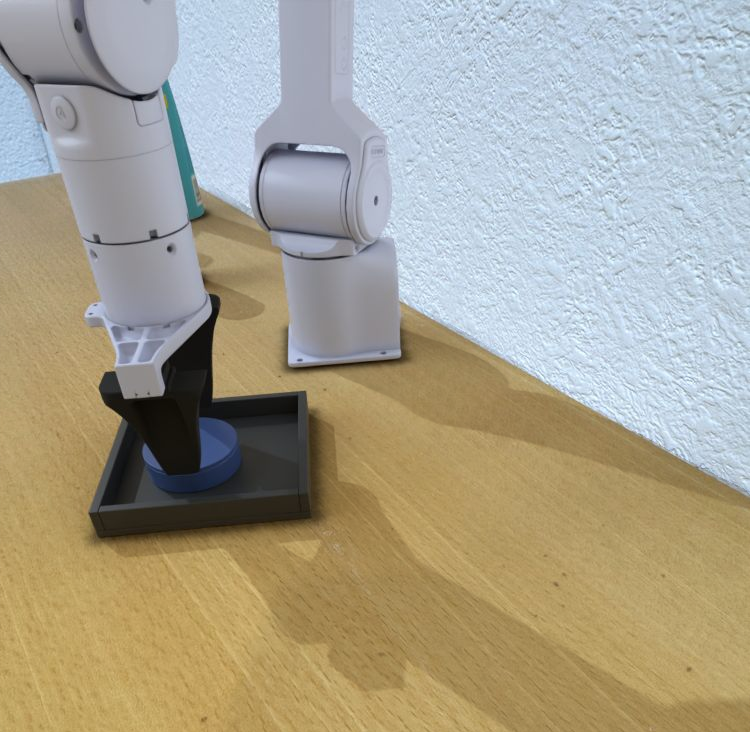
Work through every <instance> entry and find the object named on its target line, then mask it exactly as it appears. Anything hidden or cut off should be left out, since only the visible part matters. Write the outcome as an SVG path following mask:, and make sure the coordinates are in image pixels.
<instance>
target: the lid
mask: <svg viewBox="0 0 750 732" xmlns="http://www.w3.org/2000/svg"><path fill="white" fill-rule="evenodd" d="M199 429H200V439H201V465H200V471H199V472H198V473H194V474H183V475H172V476H168V475H166V473H165V472H164V471H163V469H162V468H161V467H160V465H159V464H158V462H157V461H156V459H155V457H154V456H153V454H152V453H151V451H150V450H149V448H148V447H147V445H146V444H144V446H143V450H142V452H143V458H144V461H145V464H146V467H147V470H148V473H149V476H150V479H151V480H152V482H153V483H154V484H155V485H156V486H158V487H159V488H161V489H164V490H166V491H170V492H176V493H191V492H198V491H203V490H206V489H210V488H212V487H215V486H217V485H219V484H221V483H223V482H225V481H226V480H227V479H229V478H230V477H231V476H232V475H233V474H234V473H235V472H236V471H237V469H238V468H239V466H240V463H241V452H240V447H239V443H238V438H237V433H236V431H235V429H234V428H233V427H232V426H231V425H230V424H228V423H226V422H224V421H222V420H218V419H214V418H199Z"/></svg>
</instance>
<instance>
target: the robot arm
mask: <svg viewBox="0 0 750 732" xmlns="http://www.w3.org/2000/svg"><path fill="white" fill-rule="evenodd" d="M176 1H177V0H0V65H1V67H2V68H3V69H4V70H5V72H6V73H7V74H8V75H9V76H10V77H11V78H12V79H13V80H14V81H15V82H16V83H17V84H19V86H20V87H21V89H22V90H23V91H24V93H25V94H26V96H27V99H28V101H29V103H30V105H31V109H32V112H33V115H34V118H35V121H36V123H37V124H41V125H42V128H43V130H44V131H45V132H46V133H48V135H49V136H48V137H49V139H50V142H51V146H52V148H53V151H54V155H55V158H56V161H57V164H58V167H59V171H60V174H61V177H62V181H63V183H64V186H65V190H66V192H67V193H66V194H67V195H68V199H69V203H70V207H71V209H72V212H73V215H74V218H75V222H76V224H77V225H76V226H77V228H78V231H79V235H80V236H81V237H80V238H81V240H82V243H83V246H84V249H85V253H86V256H87V257H86V258H87V259H88V263H89V266H90V269H91V273H92V276H93V278H94V282H95V285H96V288H97V291H98V295H99V298H100V301H97V302H93V303H91V304H90V305H89V306H88V307H87V309H86V311H85V313H84V316H83V317H84V319H85V323H86V326H87V327H89V328H105V330H107V334H108V336H109V339H110V342H111V344H112V347H113V349H114V352H115V355H116V357H115V361H114V362H115V363H114V366H113V368H114V370H111V371H104V373H103V376H102V378H101V380H100V382H99V384H98V391H99V395H100V397H101V400H102V401H103V403H104V405H105V406H106V407H107V408H109V409H110V410H112V411H113V412H115V413H116V414H117V415H118V416H120V418H121V419H122V418H123V419H124V420H126V421H127V422H128V423H129V424H130V425H131V426H132V427H133V428H134V430H135V431H136V432H137V433H138V434H139V435H140V437H141V438H142V439H143V441H144V442H145V444H146V445H147V447H148V448H149V450H150V451H151V453H152V454H153V456H154V457H155V459H156V461H157V462H158V464H159V465H160V467H161V468H162V469H163V471H164V472H165V473H166V475H168V476H172V475H183V474H194V473H198V472H199V471H200V465H201V439H200V429H199V408H203V407H211V404H212V398H213V397H214V371H213V369H214V368H213V367H214V365H213V363H214V362H213V347H214V334H215V327H216V324H217V320H218V317H219V314H220V311H221V305H222V302H221V297H220V296H219V295H217V294H215V293H208V291H207V290H206V288H205V286H204V281H203V275H202V271H201V266H200V261H199V256H198V253H197V247H196V243H195V238H194V232H193V229H192V224H191V220H190V219H189V215H188V210H187V205H186V200H185V196H184V191H183V186H182V181H181V177H180V172H179V167H178V163H177V158H176V153H175V148H174V144H173V139H172V134H171V129H170V124H169V120H168V115H167V110H166V106H165V101H164V96H163V91H162V87H161V86H162V85H163V84H164V83H165V81H166V80H167V78H169V76H170V75H171V72H172V69H173V67H174V66H175V65H176V63H177V61H178V56H179V45H180V38H179V36H180V35H179V23H178V15H177V9H176V8H177V7H176ZM277 2H278V34H279V35H278V38H279V39H278V42H279V43H278V45H279V73H280V75H279V76H280V77H279V78H280V80H279V81H280V101H279V103H278V104H277V105H276V107H275V108H274V109H273V110H272V111H271V112H270V113H269V114H267V116H266V117H265V118H264V119H263V120H262V121H261V123H259V125H257V127H256V129H254V132H253V137H254V138H253V141H254V153H253V161H252V168H251V171H250V174H249V180H248V201H249V205H250V209H251V211H252V214H253V217H254V219H255V221H256V223H257V225H258V227H260V228H261V230H263V231H264V232H266V233H267V234H269V235H270V242H271V246H272V247H277V248H279V249H280V256H281V264H282V271H283V277H284V284H285V285H284V287H285V293H286V301H287V309H288V315H289V323H288V336H287V337H288V338H287V339H288V343H287V344H288V345H287V365H288V367H290V368H303V367H316V366H328V365H329V366H330V365H341V364H350V363H363V362H375V361H385V360H386V361H387V360H397V359H400V358H401V357H402V350H401V329H400V327H401V325H402V312H401V311H402V310H401V304H400V291H399V288H400V287H399V286H400V285H399V271H398V269H399V268H398V258H397V250H396V244H395V241H394V240H395V239H394V238H393V237H390V236H382V237H381V235H382V234H383V232H384V231H385V230H386V227H387V224H388V222H389V219H390V216H391V215H390V214H391V211H392V205H393V203H392V202H393V186H392V179H391V175H390V170H389V157H388V138H387V136H386V134H385V133H384V132H383V131H382V129H381V128H380V127H379V126H378V125H377V124H376V123H375V122H374V121H372V120H371V119H370V118H369V116H367V114H365V113H364V111H362V110H361V109H360V107H358V105H356V103H355V102H354V100H353V90H354V89H353V87H354V86H353V85H354V82H353V81H354V31H355V30H354V29H355V27H354V25H355V24H354V22H355V21H354V20H355V0H278V1H277ZM301 145H307V146H321V147H333V148H337V149H339V150H341V151H342V152H343V153H342V152H330V151H315V150H302V149H298V147H299V146H301Z"/></svg>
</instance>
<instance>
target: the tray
mask: <svg viewBox="0 0 750 732" xmlns="http://www.w3.org/2000/svg"><path fill="white" fill-rule="evenodd" d="M199 418H214V419H218V420H222V421H224V422H226V423H228V424H230V425H231V426H232V427H233V428H234V429H235V431H236V433H237V438H238V443H239V447H240V452H241V463H240V466H239V468H238V469H237V471H236V472H235V473H234V474H233V475H232V476H231V477H230V478H229V479H227V480H226V481H225V482H223V483H221V484H219V485H217V486H215V487H212V488H210V489H206V490H203V491H198V492H191V493H176V492H170V491H166V490H164V489H161V488H159V487H158V486H156V485H155V484H154V483H153V482H152V480H151V479H150V476H149V473H148V470H147V467H146V464H145V461H144V458H143V452H142V450H143V446H144V444H145V442H144V441H143V439H142V438H141V437H140V435H139V434H138V433H137V432H136V431H135V430H134V428H133V427H132V426H131V425H130V424H129V423H128V422H127V421H126V420H124V419H123V418H122V417H121V420H120V424H119V426H118V429H117V432H116V434H115V437H114V440H113V442H112V445H111V448H110V452H109V454H108V457H107V459H106V463H105V465H104V468H103V471H102V473H101V476H100V479H99V481H98V485H97V486H96V487H97V488H96V491H95V493H94V495H93V499H92V501H91V503H90V507H89V510H88V516H89V518H90V521H91V523H92V525H93V528H94V530H95V533H96V536H97V537H98V538H104V537H105V538H106V537H116V536H126V535H127V536H128V535H137V534H150V533H157V532H158V533H159V532H160V533H161V532H169V531H181V530H192V529H202V528H212V527H224V526H234V525H244V524H256V523H266V522H276V521H288V520H299V519H309V518H312V516H313V515H312V483H311V482H312V481H311V438H310V437H311V436H310V410H309V403H308V394H307V390H299V391H298V390H294V391H283V392H282V391H281V392H272V393H261V394H260V393H259V394H248V395H247V394H246V395H237V396H225V397H214V398H212V404H211V407H203V408H199Z"/></svg>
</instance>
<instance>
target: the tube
mask: <svg viewBox="0 0 750 732" xmlns="http://www.w3.org/2000/svg"><path fill="white" fill-rule="evenodd" d="M168 78H169V77H168ZM168 78H167V80H166V81H165V83H164V84H163V85H162V86H161V87H162V91H163V96H164V101H165V106H166V110H167V115H168V120H169V124H170V129H171V134H172V139H173V144H174V148H175V153H176V158H177V163H178V167H179V172H180V177H181V181H182V186H183V191H184V196H185V200H186V205H187V210H188V215H189V219H190V221H191V220H195V219H198V218H200V217H202V216H203V215H204V214H205V208H204V204H203V199H202V195H201V191H200V188H199V184H198V179H197V175H196V172H195V169H194V164H193V160H192V157H191V153H190V149H189V145H188V142H187V137H186V135H185V132H184V128H183V124H182V120H181V117H180V114H179V111H178V107H177V104H176V101H175V98H174V94H173V92H172V91H173V90H172V88H171V85H170V82H169V79H168Z"/></svg>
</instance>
